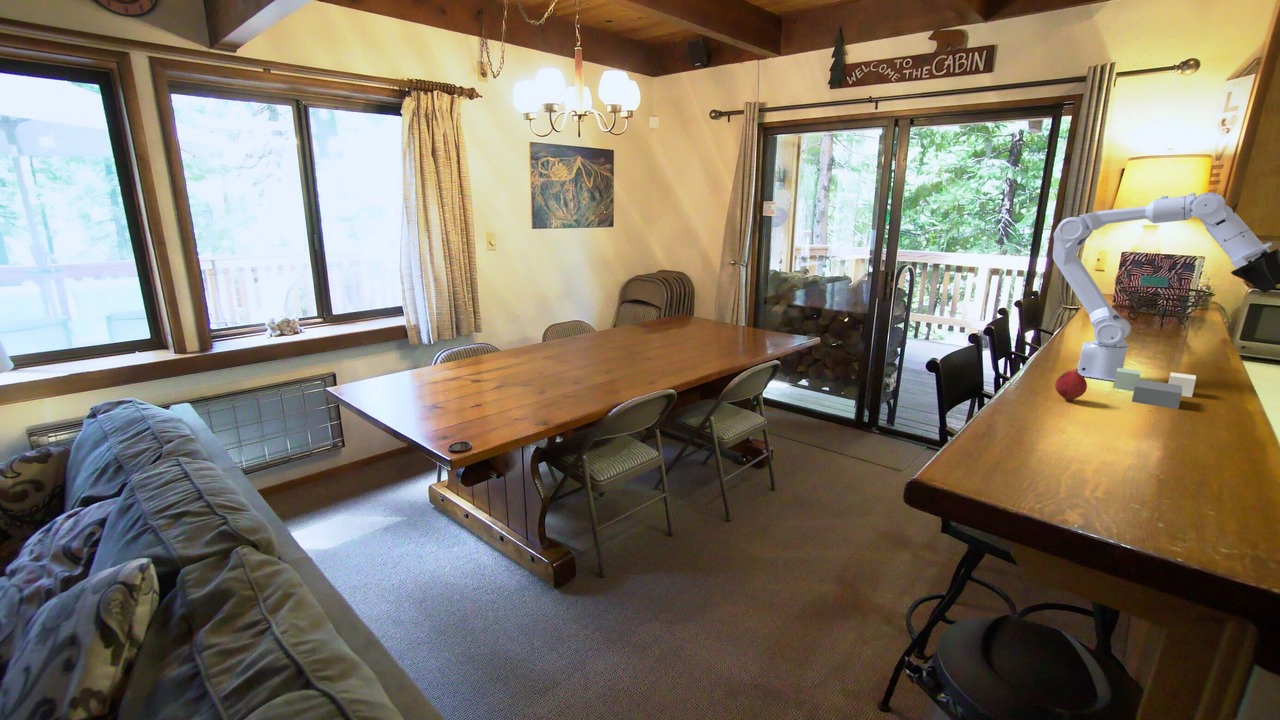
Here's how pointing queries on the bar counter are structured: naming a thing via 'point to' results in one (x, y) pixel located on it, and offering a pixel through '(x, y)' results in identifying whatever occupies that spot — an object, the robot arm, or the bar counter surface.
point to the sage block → (1126, 379)
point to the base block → (1157, 394)
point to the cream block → (1183, 382)
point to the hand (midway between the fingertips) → (1276, 286)
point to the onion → (1071, 385)
